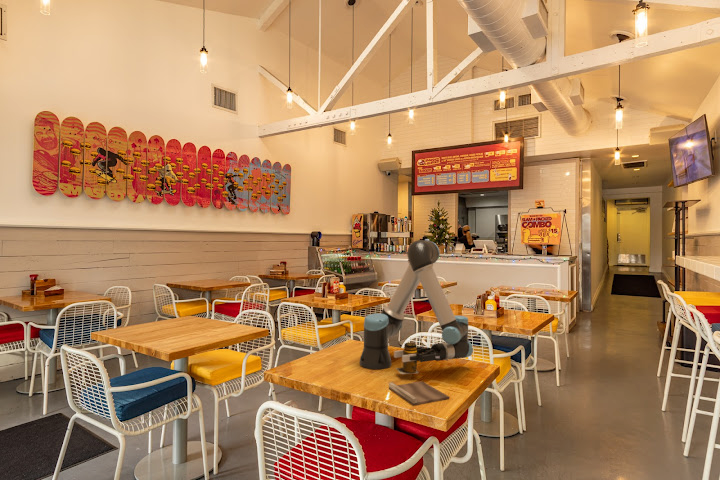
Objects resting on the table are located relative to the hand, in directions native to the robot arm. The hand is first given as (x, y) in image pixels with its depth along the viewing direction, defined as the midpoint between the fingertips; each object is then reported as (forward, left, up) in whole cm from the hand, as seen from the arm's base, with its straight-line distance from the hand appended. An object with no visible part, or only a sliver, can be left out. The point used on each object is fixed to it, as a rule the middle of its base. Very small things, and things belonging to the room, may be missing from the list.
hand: (398, 356), depth 171 cm
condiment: (+3, +4, -7) cm, 9 cm away
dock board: (+12, -13, -9) cm, 20 cm away
